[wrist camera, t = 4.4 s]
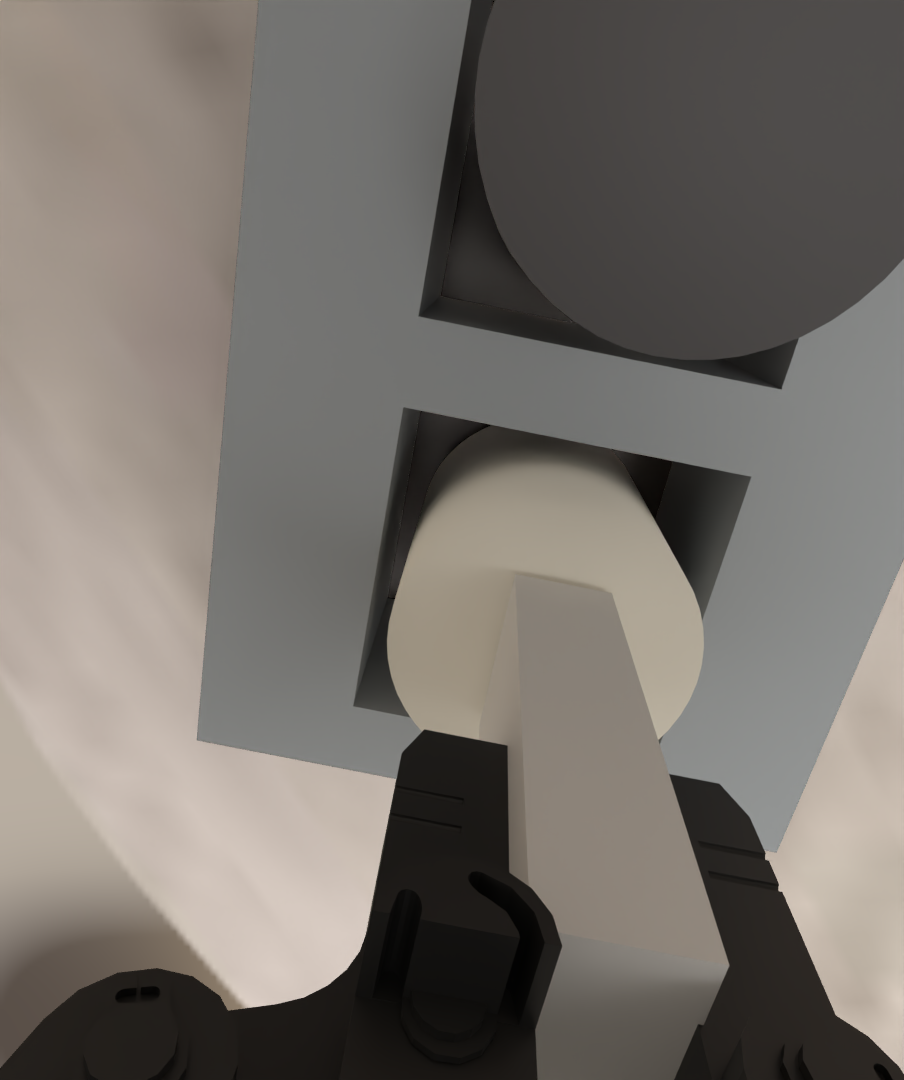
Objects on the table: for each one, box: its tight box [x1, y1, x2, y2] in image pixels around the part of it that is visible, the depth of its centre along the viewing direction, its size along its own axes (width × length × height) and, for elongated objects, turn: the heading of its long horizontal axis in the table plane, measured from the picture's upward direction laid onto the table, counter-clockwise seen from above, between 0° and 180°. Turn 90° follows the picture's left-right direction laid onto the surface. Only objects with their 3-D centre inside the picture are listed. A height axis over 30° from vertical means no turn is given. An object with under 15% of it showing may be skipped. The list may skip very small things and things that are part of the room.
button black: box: [475, 0, 904, 360], centre depth 11 cm, size 5×5×6 cm
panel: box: [197, 0, 904, 853], centre depth 14 cm, size 24×12×5 cm, turn 169°
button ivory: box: [387, 425, 704, 740], centre depth 15 cm, size 5×5×6 cm
